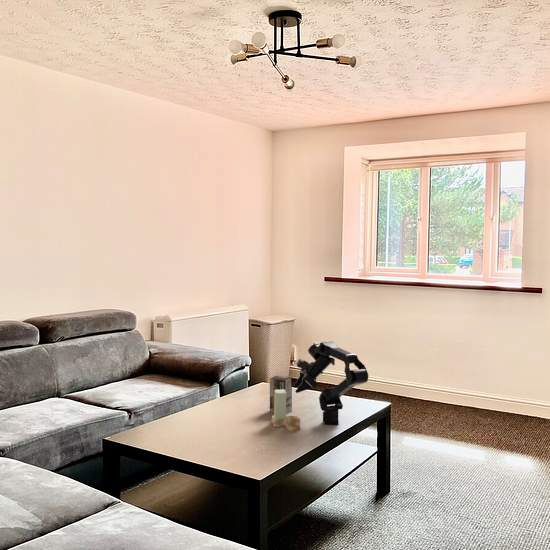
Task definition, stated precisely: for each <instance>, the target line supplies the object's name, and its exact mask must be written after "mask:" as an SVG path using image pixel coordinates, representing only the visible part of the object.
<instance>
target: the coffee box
mask: <svg viewBox="0 0 550 550" xmlns="http://www.w3.org/2000/svg"><path fill="white" fill-rule="evenodd" d="M282 389H285V391H286V414H288V413H290V411H291V412H292V411H293V404H292V403H293V378H292V377H287V376H282V375H274V376H271V377H269V412H272V411H273V412H272V413H274V394H275V390H282Z"/></svg>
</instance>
